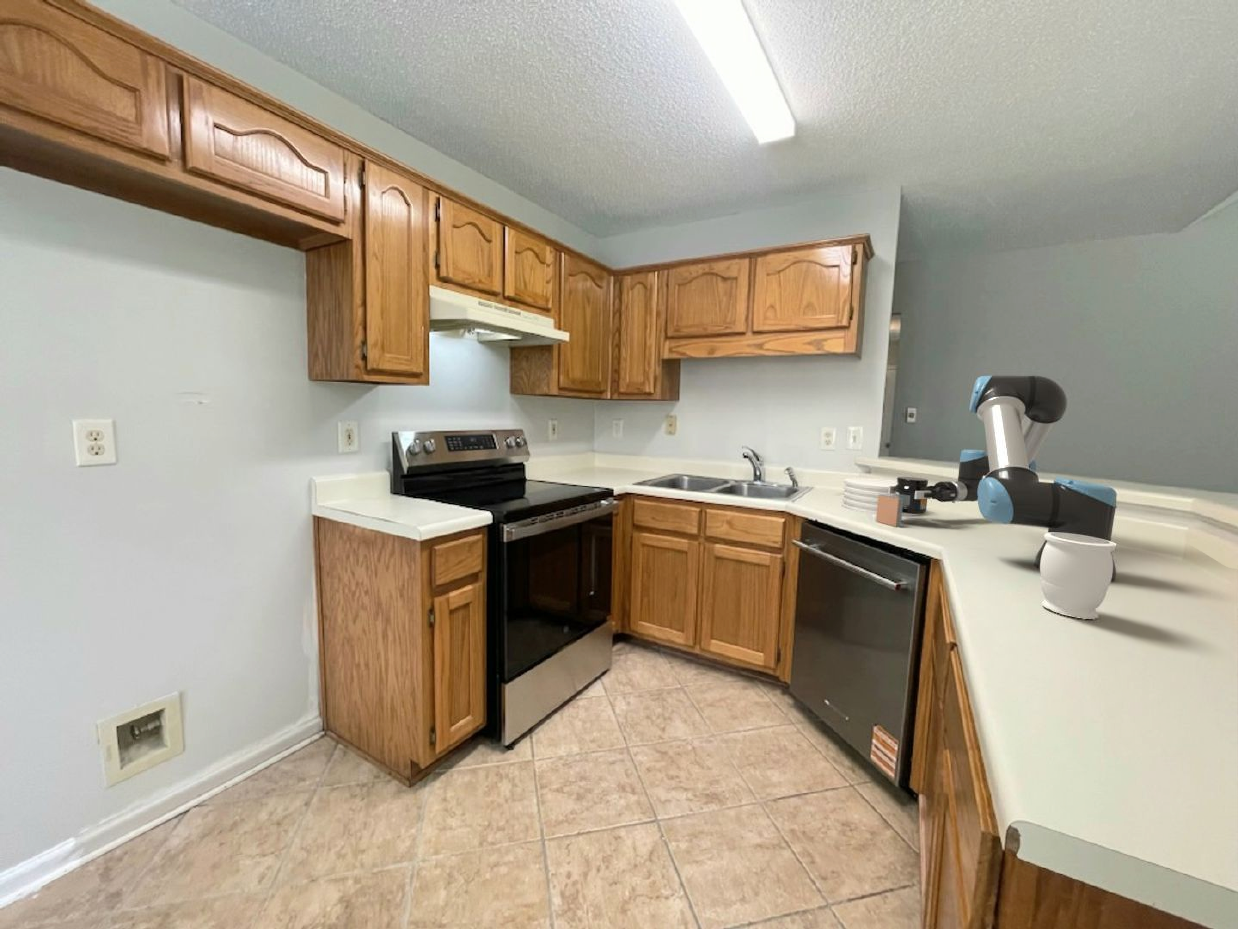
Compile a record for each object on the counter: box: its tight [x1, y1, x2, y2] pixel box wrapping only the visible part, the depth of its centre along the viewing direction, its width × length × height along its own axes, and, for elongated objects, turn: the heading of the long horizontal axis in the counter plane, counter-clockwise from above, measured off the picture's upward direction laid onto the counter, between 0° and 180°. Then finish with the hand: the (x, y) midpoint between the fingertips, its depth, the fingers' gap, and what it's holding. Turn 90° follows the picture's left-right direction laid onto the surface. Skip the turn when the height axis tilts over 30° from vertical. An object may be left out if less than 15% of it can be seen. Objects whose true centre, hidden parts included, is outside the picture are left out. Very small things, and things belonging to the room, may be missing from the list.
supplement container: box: [894, 476, 929, 515], centre depth 176 cm, size 10×10×12 cm
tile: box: [875, 494, 903, 528], centre depth 173 cm, size 2×9×10 cm, turn 17°
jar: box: [1039, 532, 1117, 620], centre depth 96 cm, size 11×10×15 cm
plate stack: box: [841, 477, 919, 517], centre depth 203 cm, size 28×28×12 cm
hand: (902, 492), depth 174 cm, fingers closed on supplement container, 10 cm apart
